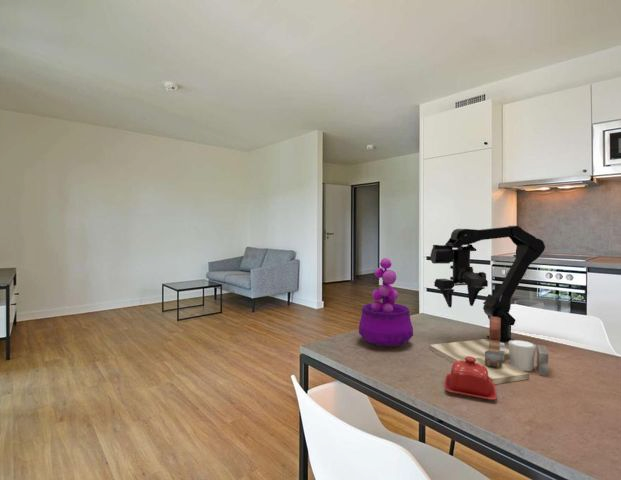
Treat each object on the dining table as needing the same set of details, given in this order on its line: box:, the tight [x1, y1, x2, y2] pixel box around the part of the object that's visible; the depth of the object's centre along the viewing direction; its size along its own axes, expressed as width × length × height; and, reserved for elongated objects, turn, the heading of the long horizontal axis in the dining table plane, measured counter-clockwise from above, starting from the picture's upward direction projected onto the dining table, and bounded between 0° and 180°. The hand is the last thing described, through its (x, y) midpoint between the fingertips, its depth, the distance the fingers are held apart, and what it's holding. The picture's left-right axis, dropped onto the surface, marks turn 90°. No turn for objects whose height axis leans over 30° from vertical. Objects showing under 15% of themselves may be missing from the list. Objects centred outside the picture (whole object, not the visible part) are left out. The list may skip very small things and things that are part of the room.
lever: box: [485, 317, 505, 367], centre depth 105 cm, size 22×5×9 cm, turn 151°
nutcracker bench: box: [428, 338, 549, 385], centre depth 105 cm, size 24×27×6 cm
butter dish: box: [444, 356, 498, 401], centre depth 87 cm, size 12×12×8 cm
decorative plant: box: [358, 257, 414, 347], centre depth 121 cm, size 19×18×30 cm
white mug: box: [508, 339, 537, 372], centre depth 101 cm, size 7×7×7 cm
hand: (460, 306), depth 125 cm, fingers open, 9 cm apart
